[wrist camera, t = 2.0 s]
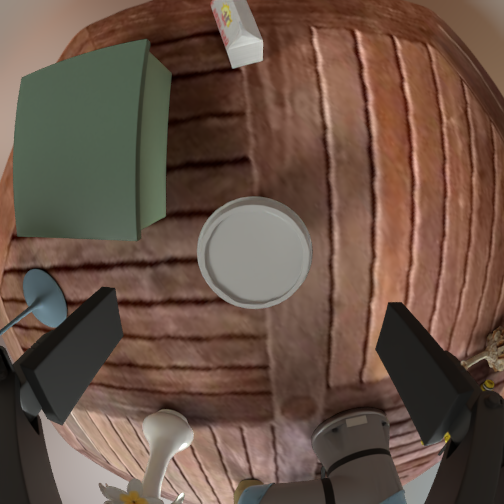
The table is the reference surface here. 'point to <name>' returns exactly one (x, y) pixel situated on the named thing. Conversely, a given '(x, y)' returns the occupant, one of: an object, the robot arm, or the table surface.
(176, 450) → the flower vase
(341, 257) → the table surface
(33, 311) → the cocktail glass
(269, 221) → the disposable coffee cup
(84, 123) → the green lidded box
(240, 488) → the squeeze bottle
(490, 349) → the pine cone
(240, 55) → the white gable carton
